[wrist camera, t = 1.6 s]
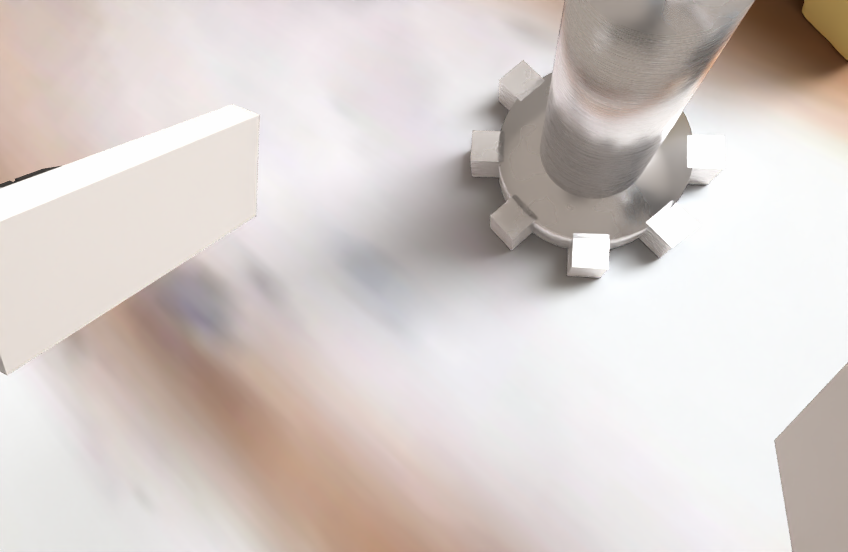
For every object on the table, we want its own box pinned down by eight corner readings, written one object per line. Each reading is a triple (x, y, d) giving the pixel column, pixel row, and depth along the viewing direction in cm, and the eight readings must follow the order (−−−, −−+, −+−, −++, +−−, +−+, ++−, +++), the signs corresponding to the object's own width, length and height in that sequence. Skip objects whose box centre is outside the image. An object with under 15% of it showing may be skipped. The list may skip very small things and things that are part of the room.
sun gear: (706, 63, 28) (897, -239, 15) (709, 284, 26) (939, 163, 13) (480, 62, 30) (467, -211, 17) (464, 270, 28) (434, 149, 14)
